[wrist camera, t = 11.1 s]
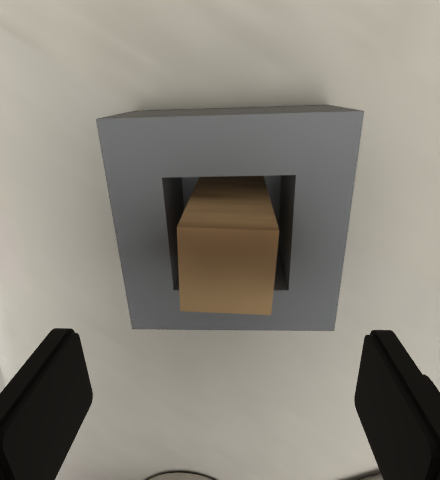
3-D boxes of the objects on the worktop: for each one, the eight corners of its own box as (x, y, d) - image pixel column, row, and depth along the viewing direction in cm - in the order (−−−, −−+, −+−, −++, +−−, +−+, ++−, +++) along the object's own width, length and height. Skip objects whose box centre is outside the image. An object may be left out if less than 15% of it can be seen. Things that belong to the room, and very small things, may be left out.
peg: (259, 233, 25) (271, 315, 16) (201, 231, 25) (180, 311, 16) (263, 175, 23) (279, 230, 14) (200, 173, 23) (176, 227, 14)
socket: (311, 274, 27) (334, 330, 21) (156, 275, 28) (132, 329, 22) (327, 104, 22) (364, 110, 16) (135, 110, 23) (96, 118, 17)
